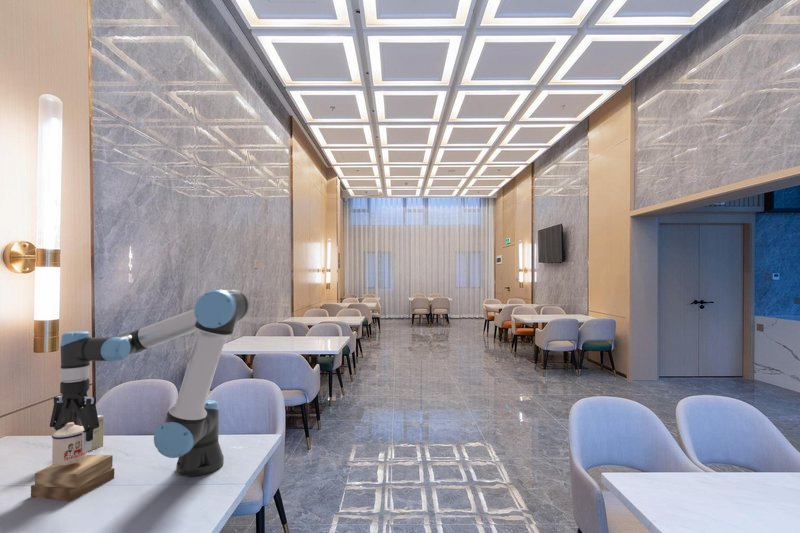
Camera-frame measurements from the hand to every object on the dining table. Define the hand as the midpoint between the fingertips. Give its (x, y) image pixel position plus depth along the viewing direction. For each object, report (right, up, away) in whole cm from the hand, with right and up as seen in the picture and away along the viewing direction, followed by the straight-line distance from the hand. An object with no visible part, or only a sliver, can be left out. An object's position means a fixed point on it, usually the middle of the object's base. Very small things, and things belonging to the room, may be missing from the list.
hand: (74, 450), depth 135 cm
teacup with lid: (0, -3, 0) cm, 3 cm away
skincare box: (-17, -13, +31) cm, 38 cm away
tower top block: (+1, -8, 0) cm, 8 cm away
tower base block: (0, -12, 0) cm, 12 cm away
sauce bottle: (-16, -13, +19) cm, 28 cm away
